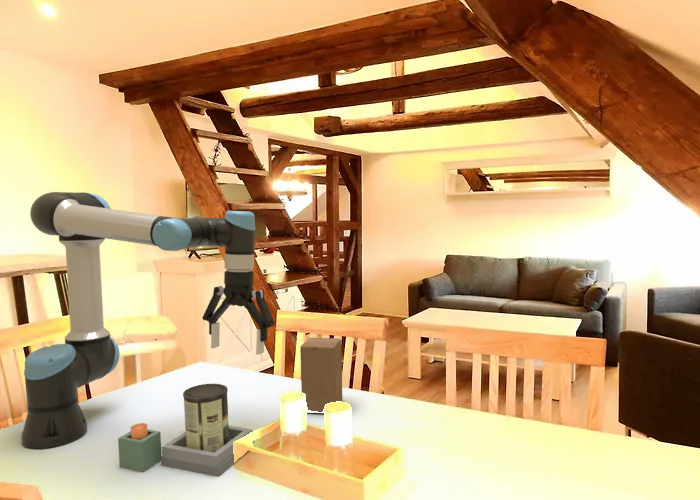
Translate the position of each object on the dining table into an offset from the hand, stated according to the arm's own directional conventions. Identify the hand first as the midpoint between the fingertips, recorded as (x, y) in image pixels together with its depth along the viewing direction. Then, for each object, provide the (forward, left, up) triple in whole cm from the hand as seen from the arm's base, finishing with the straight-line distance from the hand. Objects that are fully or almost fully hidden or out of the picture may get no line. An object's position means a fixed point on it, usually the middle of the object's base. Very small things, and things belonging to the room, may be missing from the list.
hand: (237, 350), depth 137 cm
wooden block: (+14, +22, -22) cm, 34 cm away
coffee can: (0, -14, -20) cm, 25 cm away
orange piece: (-13, -23, -18) cm, 32 cm away
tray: (0, -14, -22) cm, 26 cm away
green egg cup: (-13, -23, -22) cm, 34 cm away
